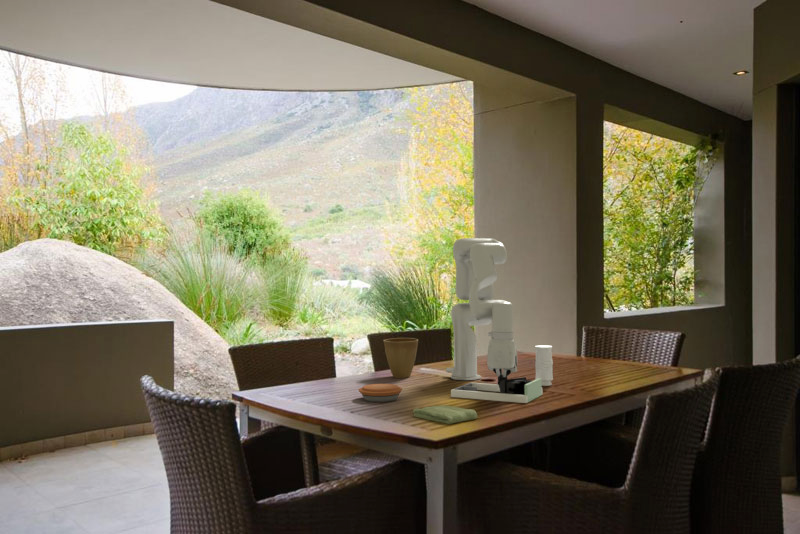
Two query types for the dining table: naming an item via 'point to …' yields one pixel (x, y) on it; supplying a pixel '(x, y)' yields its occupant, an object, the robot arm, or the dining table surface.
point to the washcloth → (445, 414)
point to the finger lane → (471, 392)
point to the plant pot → (401, 355)
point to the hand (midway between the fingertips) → (502, 387)
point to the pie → (380, 392)
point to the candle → (544, 364)
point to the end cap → (514, 386)
